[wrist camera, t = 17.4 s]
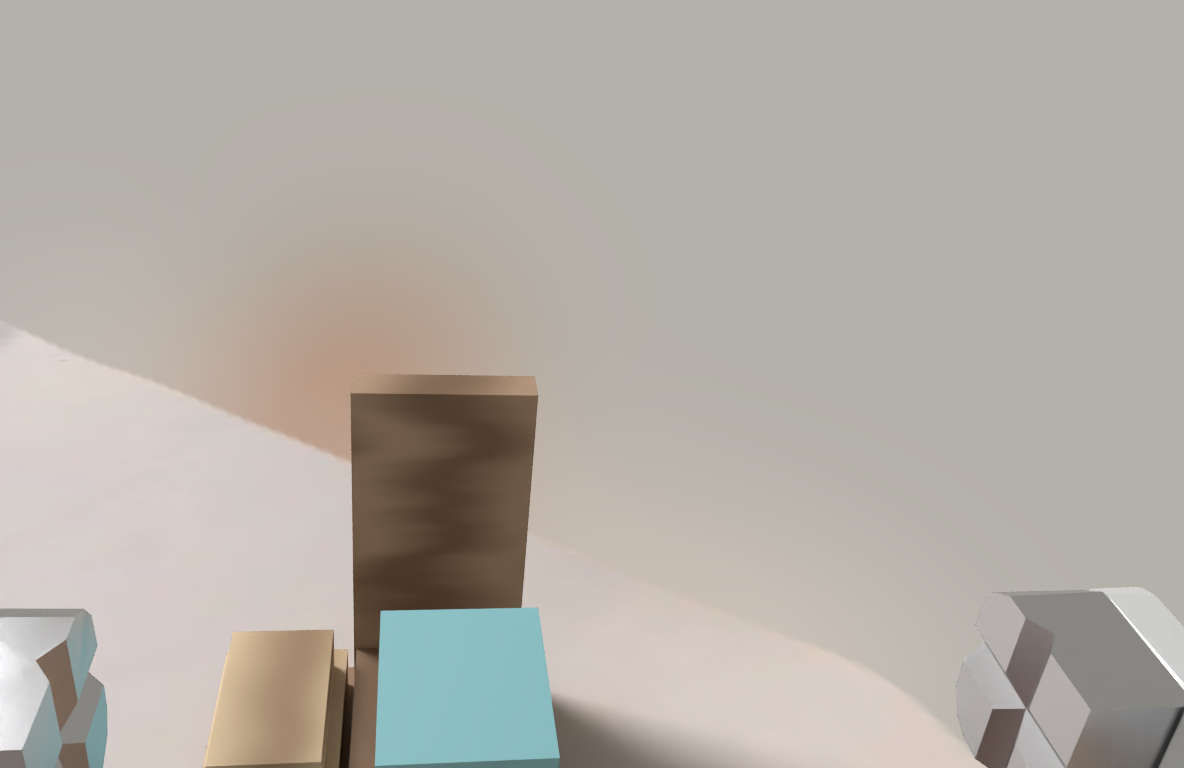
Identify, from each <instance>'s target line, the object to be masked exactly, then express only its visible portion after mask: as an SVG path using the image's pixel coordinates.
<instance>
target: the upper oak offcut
mask: <svg viewBox="0 0 1184 768" xmlns="http://www.w3.org/2000/svg"><path fill="white" fill-rule="evenodd" d="M333 676H334V630H298V631H252V632H233V635H232V639H231V644H230V649H229V654H228V659H227V664H226V668H225V673H224V678H223V683H222V688H221V692H220V697H219V702H218V707H217V712H216V717H215V721H214V726H213V731H212V736H211V741H210V746H209V750H208V755H207V760H206V765H205V768H325V766H326V755H327V744H328V733H329V721H330V710H331V699H332V688H333Z"/></svg>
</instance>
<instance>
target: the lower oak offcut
mask: <svg viewBox="0 0 1184 768" xmlns="http://www.w3.org/2000/svg"><path fill="white" fill-rule="evenodd" d="M228 654H229V652H227V655H226V660H225V665H224V669H223V674H222V679H221V684H220V689H219V693H218V698H217V703H216V708H215V712H214V717H213V722H212V727H211V732H210V736H209V741H208V746H207V751H206V755H205V760H204V765H203V768H205V765H206V760H207V755H208V750H209V746H210V741H211V736H212V731H213V726H214V721H215V717H216V712H217V707H218V702H219V697H220V692H221V688H222V683H223V678H224V673H225V668H226V664H227V659H228ZM347 696H348V649H338V650H334V676H333V688H332V699H331V710H330V721H329V733H328V744H327V755H326V766H325V768H342V765H343V751H344V737H345V724H346V710H347Z"/></svg>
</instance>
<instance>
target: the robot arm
mask: <svg viewBox="0 0 1184 768" xmlns="http://www.w3.org/2000/svg"><path fill="white" fill-rule="evenodd" d="M975 625H976V627H977V629H978V631H979V633H980V635H981V636H982V638H983V640H984V643H983V644H981V645H980V646H979V647H978V648H977V649H976V650H975V651H974V652H973V653H971V654H970V655H969V656H968V657H967V658H966V659H965V660H964V661H963V664H962V667H961V671H960V675H959V679H958V682H957V685H956V698H957V716H958V720H959V723H960V726H961V730H962V733H963V736H964V738H965V740H966V742H967V744H968V746H969V748H970V750H971V752H972V754H973V755H974V757H975V759H977V760H978V761H979V762H981V763H982V764H984V765H985V766H986V767H988V768H1184V627H1183V626H1182V625H1181V624H1180V623H1179V622H1178V620H1177V619H1176V618H1175V617H1174V616H1173V615H1172V614H1171V613H1170V611H1169V610H1168V609H1167V608H1166V607H1165V606H1164V605H1163V604H1162V602H1161V601H1160V600H1159V599H1158V598H1157V597H1156V596H1155V595H1154V594H1152V593H1150V592H1148V591H1146V590H1145V589H1143V588H1141V587H1125V588H1101V589H1100V588H1098V589H1090V590H1088V591H1087V590H1070V591H1030V592H994V593H992V595H990V596H989V598H988V599H987V600H986V601H985V602H984V603H983V604H982V607H981V610H980V613H979V616H978V619H977V622H976V624H975ZM96 648H97V641H96V636H95V631H94V626H93V621H92V616H91V615H90V614H89V613H88V612H87V611H85V610H84V609H0V768H103V763H104V755H105V748H106V741H107V704H106V697H105V690H104V685H103V684H102V683H101V682H99V681H98V680H97V679H96V678H95V677H94V676H92V675H91V674H90V673H89V672H88V671H89V668H90V665H91V663H92V660H93V657H94V654H95V651H96Z"/></svg>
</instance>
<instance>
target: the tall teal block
mask: <svg viewBox="0 0 1184 768" xmlns="http://www.w3.org/2000/svg"><path fill="white" fill-rule="evenodd" d="M559 762H560V755H559V748H558V742H557V735H556V728H555V721H554V714H553V707H552V700H551V693H550V687H549V680H548V673H547V666H546V659H545V652H544V645H543V638H542V632H541V625H540V618H539V611H538V608H492V609H444V610H395V611H381V616H380V643H379V669H378V696H377V722H376V749H375V768H559Z"/></svg>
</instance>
